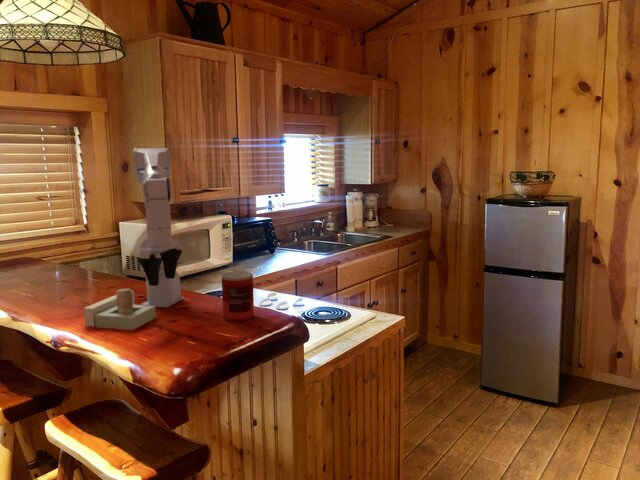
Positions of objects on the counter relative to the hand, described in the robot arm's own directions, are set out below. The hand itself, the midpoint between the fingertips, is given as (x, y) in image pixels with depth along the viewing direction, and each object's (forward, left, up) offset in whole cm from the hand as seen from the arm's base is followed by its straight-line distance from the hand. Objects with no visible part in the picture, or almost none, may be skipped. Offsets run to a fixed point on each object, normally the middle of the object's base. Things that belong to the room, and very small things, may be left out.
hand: (162, 281), depth 134 cm
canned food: (-5, +18, -10) cm, 21 cm away
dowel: (+5, -8, -9) cm, 13 cm away
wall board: (+2, -14, -9) cm, 17 cm away
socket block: (+5, -7, -9) cm, 13 cm away
